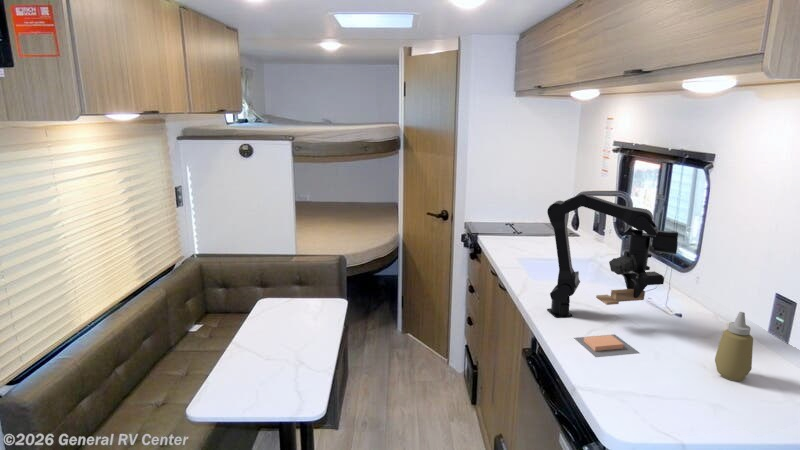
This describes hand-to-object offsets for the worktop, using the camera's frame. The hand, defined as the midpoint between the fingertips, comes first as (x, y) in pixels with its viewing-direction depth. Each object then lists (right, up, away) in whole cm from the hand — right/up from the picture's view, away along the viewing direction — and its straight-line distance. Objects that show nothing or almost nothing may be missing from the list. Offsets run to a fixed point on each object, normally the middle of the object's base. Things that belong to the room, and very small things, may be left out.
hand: (632, 296), depth 150 cm
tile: (-10, -12, -10) cm, 19 cm away
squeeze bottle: (+13, -17, -26) cm, 34 cm away
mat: (-13, -14, -10) cm, 22 cm away
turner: (-4, -1, 0) cm, 4 cm away
